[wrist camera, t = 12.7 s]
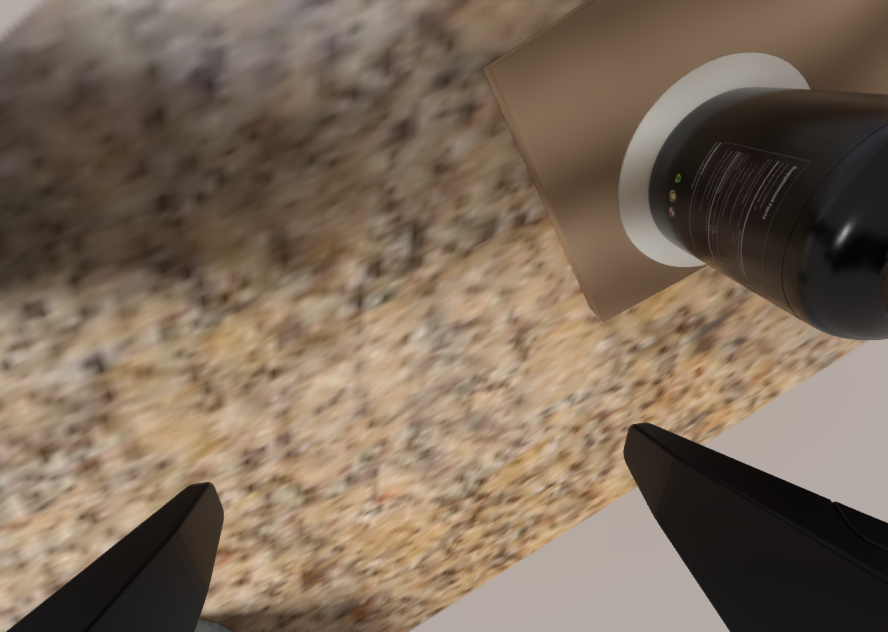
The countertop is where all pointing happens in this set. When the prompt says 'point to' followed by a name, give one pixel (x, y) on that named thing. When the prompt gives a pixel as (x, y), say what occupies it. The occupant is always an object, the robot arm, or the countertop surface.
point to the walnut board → (658, 110)
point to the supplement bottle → (785, 200)
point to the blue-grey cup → (210, 627)
